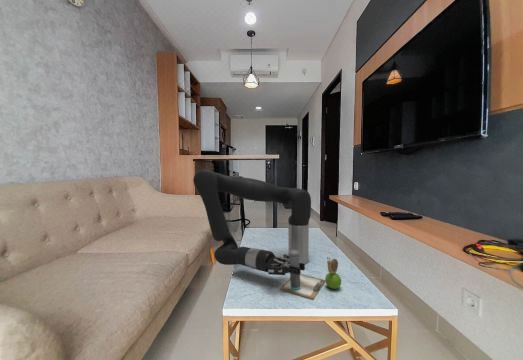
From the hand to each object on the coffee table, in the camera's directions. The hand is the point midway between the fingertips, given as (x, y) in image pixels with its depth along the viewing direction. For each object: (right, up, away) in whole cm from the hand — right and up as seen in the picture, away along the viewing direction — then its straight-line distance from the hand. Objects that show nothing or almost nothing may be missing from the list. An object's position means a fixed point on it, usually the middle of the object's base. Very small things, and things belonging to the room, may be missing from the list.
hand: (302, 269), depth 78 cm
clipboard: (+1, -8, +4) cm, 9 cm away
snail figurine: (+11, -8, +2) cm, 14 cm away
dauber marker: (-2, -7, +2) cm, 8 cm away
